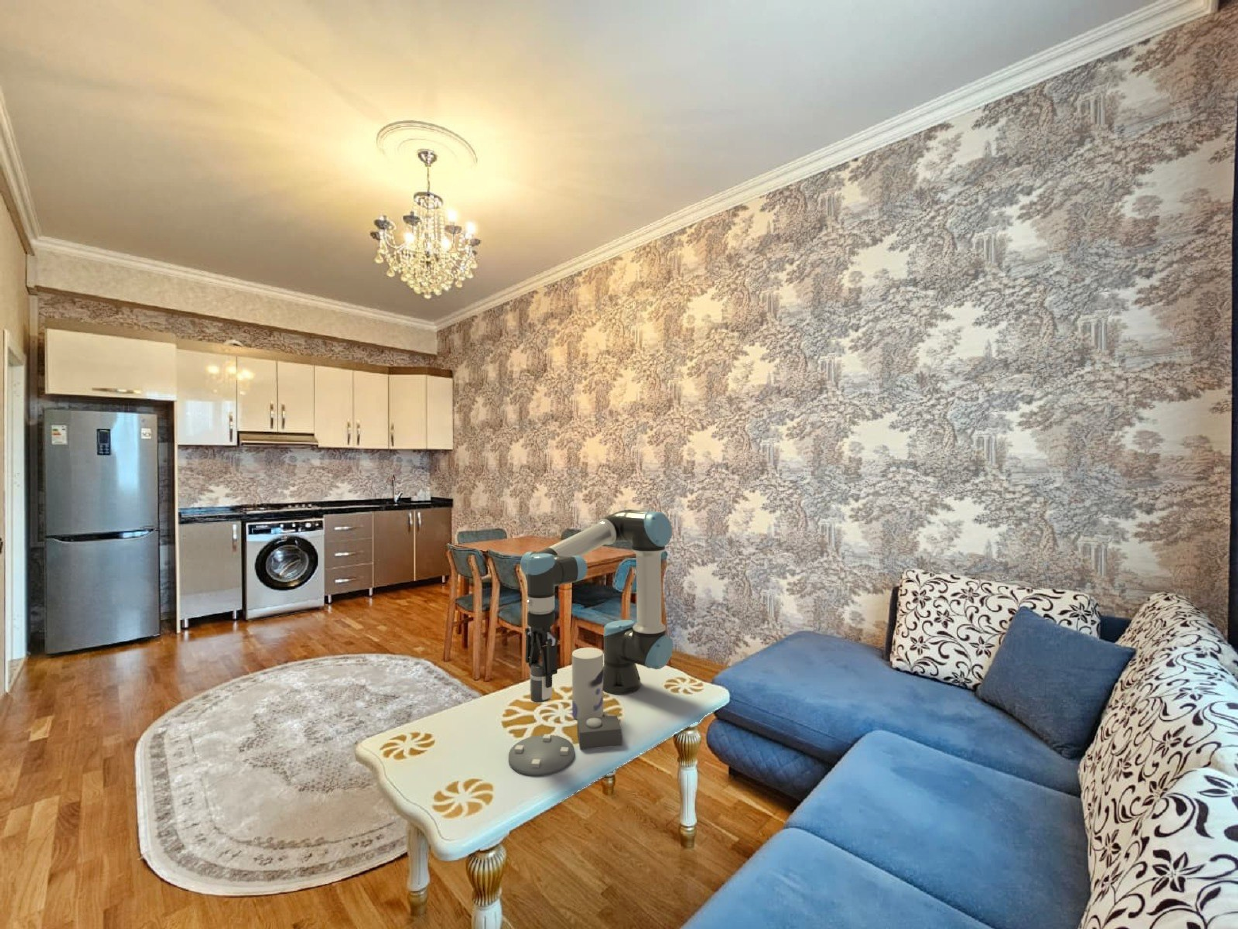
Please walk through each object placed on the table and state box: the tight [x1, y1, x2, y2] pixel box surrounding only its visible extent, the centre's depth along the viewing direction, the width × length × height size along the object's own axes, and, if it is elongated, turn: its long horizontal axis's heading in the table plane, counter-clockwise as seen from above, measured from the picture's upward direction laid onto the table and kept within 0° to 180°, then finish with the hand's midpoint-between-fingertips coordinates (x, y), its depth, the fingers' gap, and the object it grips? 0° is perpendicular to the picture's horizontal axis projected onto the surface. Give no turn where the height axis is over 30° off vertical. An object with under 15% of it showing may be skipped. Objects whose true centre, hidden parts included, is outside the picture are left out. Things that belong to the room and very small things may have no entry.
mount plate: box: [508, 733, 575, 777], centre depth 140 cm, size 18×18×2 cm
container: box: [571, 647, 604, 720], centre depth 164 cm, size 10×10×20 cm
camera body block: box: [576, 715, 623, 751], centre depth 149 cm, size 12×8×6 cm, turn 100°
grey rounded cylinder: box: [529, 661, 551, 704], centre depth 141 cm, size 6×6×9 cm
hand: (540, 694), depth 141 cm, fingers closed on grey rounded cylinder, 6 cm apart
